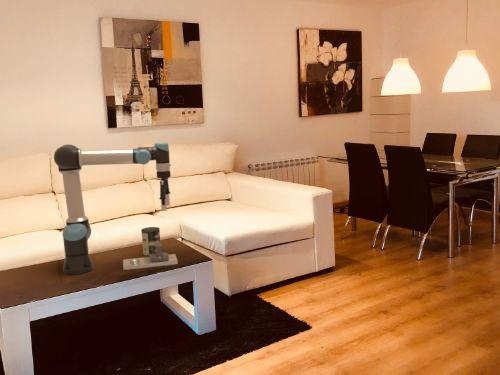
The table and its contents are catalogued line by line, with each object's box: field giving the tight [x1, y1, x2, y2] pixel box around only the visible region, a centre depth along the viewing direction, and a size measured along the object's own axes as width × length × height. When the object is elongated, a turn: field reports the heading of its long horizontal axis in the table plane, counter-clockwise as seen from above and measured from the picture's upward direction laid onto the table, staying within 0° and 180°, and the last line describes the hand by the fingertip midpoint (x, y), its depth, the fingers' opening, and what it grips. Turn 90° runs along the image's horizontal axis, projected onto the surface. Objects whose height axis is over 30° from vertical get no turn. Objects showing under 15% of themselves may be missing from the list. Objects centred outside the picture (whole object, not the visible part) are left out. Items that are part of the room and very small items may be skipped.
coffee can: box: [140, 226, 161, 256], centre depth 291 cm, size 10×10×14 cm
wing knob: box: [149, 241, 170, 262], centre depth 273 cm, size 10×10×8 cm
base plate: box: [122, 253, 178, 271], centre depth 273 cm, size 28×12×3 cm, turn 104°
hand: (165, 208), depth 285 cm, fingers open, 13 cm apart
